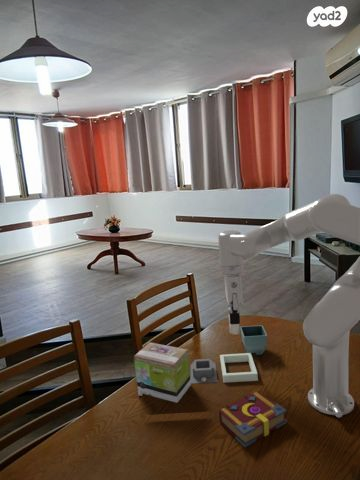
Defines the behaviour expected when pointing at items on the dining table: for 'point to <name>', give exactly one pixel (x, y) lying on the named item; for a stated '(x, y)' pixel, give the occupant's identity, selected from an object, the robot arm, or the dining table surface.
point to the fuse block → (203, 371)
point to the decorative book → (252, 417)
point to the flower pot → (254, 339)
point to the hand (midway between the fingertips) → (234, 320)
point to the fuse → (233, 326)
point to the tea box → (162, 371)
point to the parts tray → (242, 375)
